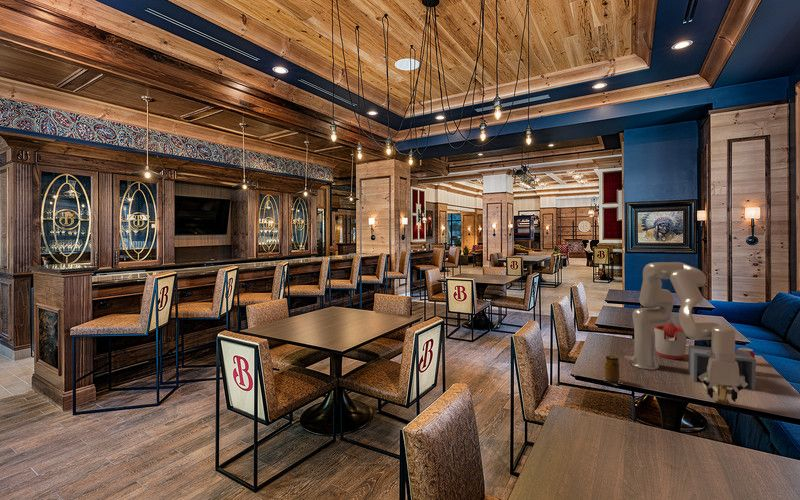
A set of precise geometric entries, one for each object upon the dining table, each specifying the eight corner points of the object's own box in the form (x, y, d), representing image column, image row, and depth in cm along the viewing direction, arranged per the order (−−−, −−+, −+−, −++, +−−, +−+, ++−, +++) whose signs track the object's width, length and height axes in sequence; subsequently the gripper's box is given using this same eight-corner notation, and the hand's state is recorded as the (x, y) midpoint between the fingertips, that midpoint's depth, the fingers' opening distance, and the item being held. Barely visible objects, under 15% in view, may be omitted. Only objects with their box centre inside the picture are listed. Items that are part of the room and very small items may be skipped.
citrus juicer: (653, 358, 213) (653, 324, 213) (653, 350, 228) (654, 318, 227) (687, 363, 205) (688, 327, 204) (685, 355, 219) (686, 321, 218)
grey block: (727, 385, 176) (728, 374, 176) (724, 380, 181) (724, 370, 181) (744, 387, 173) (745, 376, 173) (740, 382, 178) (741, 372, 178)
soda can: (758, 375, 187) (758, 351, 186) (741, 374, 188) (742, 350, 188) (747, 370, 194) (748, 347, 193) (732, 369, 195) (732, 346, 195)
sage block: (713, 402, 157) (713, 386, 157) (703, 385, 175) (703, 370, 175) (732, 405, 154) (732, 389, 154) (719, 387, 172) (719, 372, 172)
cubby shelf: (693, 381, 180) (694, 352, 179) (688, 372, 192) (688, 345, 191) (755, 390, 169) (755, 359, 168) (745, 379, 181) (746, 351, 181)
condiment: (611, 377, 187) (611, 353, 186) (626, 383, 179) (626, 359, 178) (600, 379, 184) (600, 355, 184) (615, 386, 176) (615, 361, 176)
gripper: (698, 356, 157) (697, 397, 158) (753, 362, 149) (752, 406, 149) (694, 351, 164) (694, 391, 164) (747, 357, 155) (746, 399, 156)
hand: (722, 398), depth 157 cm, fingers open, 6 cm apart
